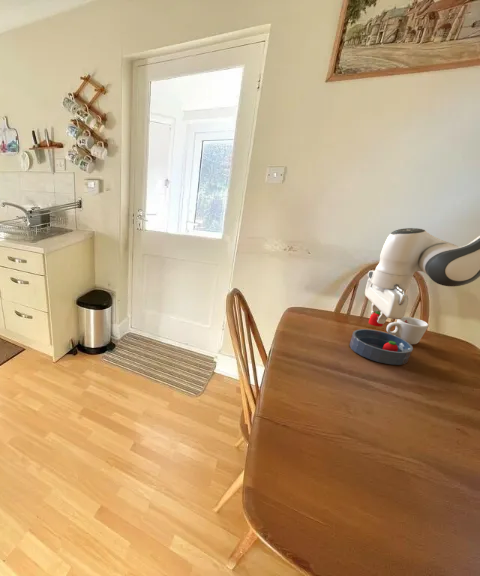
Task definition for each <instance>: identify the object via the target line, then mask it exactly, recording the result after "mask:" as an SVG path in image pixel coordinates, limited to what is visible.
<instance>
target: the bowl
mask: <svg viewBox="0 0 480 576" xmlns="http://www.w3.org/2000/svg"><path fill="white" fill-rule="evenodd" d="M389 341H394V342H396V345H397V346H398V351H397V352H395V351H388V350H383V346H384V344H385V343H388V342H389ZM348 346H349V348H350V349H351V350H352V351H353V352H354V353H356V354H357V355H359V356H360V357H364V358H366V359H368V360H371V361H374V362H376V363H381V364H385V365H393V366H401V365H405V364H407V363H408V362H409V360H410V358H411V356H412V353H413V351H414V348H413V344H410V343H408V342H407V341H405V340H404V339H402V338H399V337H397V336H395V335H392V334H389V333H388V332H385V331H381V330H376V329H369V328H361V329H356V330H353V331H352V334H351V337H350V340H349V345H348Z"/></svg>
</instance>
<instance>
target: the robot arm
mask: <svg viewBox="0 0 480 576" xmlns="http://www.w3.org/2000/svg"><path fill="white" fill-rule="evenodd" d="M417 272H423V273H424V274H426V275H427V276H428V277H429V279H430V280H431V281H433V283H435V284H438V285H439V286H443V287H444V286H445V287H460V286H465V285H468V284H471V283H473V282H474V281H476V280H478V279H479V278H480V235H478V236H477V237H476V238H474V239H473V240H471V241H470V242H469V243H467V244H464V245H461V246H458V245H456V244H454V243H451V242H449V241H446V240H442V239H440V238H439V237H436V236H434V235H432V234H430V233H429V232H427V230H425V229H423V228H415V227H405V228H398V229H395V230H393V231H391V232H390V233H389V235H388V236H387V237H386V239H385V242H384V243H383V246H382V249H381V251H380V254H379V262H378V264H377V265H376V267H375V269H374V270H369V271H368V273H367V277H368V278H367V282H366V285H365V289H364V295H365V297H366V298H367V299H368V300H369V301H370V302H371V312H370V316H371V315H372V314H373V313H376V311H380V313H381V314H380V316H379V317H377V320H376V321H377V322H378V323H380V324H383V325H385V324H386V321H387V320H388V319H393V320H397V319H402V318H403V317H404V316H405V314H406V311H407V309H408V305H409V296H408V295H407V294H406V290H409V288H410V285H411V283H412V280H413V277H414V274H415V273H417Z"/></svg>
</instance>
